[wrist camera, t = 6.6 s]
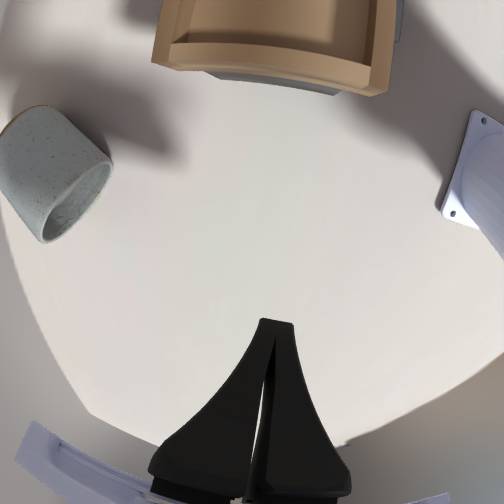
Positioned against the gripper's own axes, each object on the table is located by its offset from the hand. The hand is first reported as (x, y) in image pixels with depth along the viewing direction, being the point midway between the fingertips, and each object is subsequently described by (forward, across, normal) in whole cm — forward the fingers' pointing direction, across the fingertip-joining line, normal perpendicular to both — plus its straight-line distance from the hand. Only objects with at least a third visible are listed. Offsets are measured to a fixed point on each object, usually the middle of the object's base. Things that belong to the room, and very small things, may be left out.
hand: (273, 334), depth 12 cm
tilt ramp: (+6, +5, -16) cm, 18 cm away
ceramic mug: (+10, +18, -2) cm, 20 cm away
